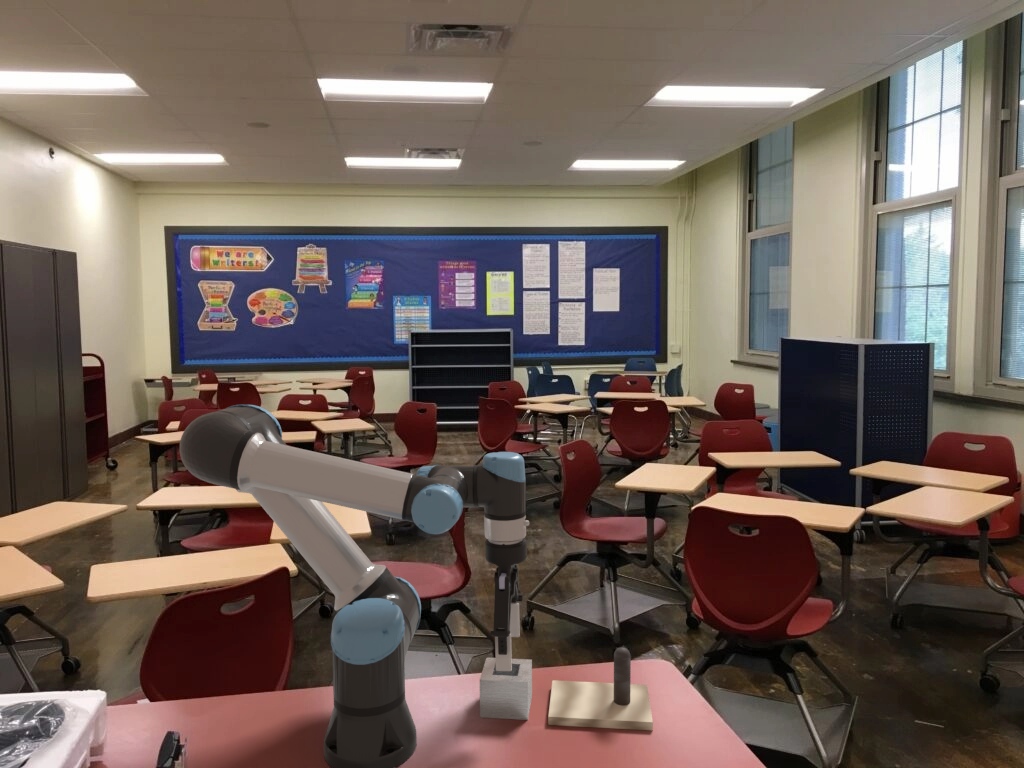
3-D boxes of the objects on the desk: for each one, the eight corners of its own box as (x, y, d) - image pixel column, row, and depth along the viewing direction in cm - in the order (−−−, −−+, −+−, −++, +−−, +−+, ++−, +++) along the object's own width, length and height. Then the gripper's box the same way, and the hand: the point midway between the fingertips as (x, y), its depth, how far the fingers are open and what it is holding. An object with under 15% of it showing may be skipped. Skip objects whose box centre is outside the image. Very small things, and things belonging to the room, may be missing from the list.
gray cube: (480, 717, 129) (479, 679, 128) (487, 693, 138) (486, 657, 137) (527, 720, 128) (527, 682, 127) (532, 695, 137) (531, 659, 136)
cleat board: (548, 724, 126) (548, 661, 125) (552, 687, 139) (552, 630, 138) (652, 730, 124) (653, 666, 123) (647, 692, 137) (647, 633, 136)
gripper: (519, 561, 117) (522, 687, 119) (532, 519, 142) (534, 624, 144) (473, 560, 118) (477, 685, 120) (494, 519, 143) (497, 623, 145)
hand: (508, 652), depth 132 cm, fingers open, 13 cm apart
